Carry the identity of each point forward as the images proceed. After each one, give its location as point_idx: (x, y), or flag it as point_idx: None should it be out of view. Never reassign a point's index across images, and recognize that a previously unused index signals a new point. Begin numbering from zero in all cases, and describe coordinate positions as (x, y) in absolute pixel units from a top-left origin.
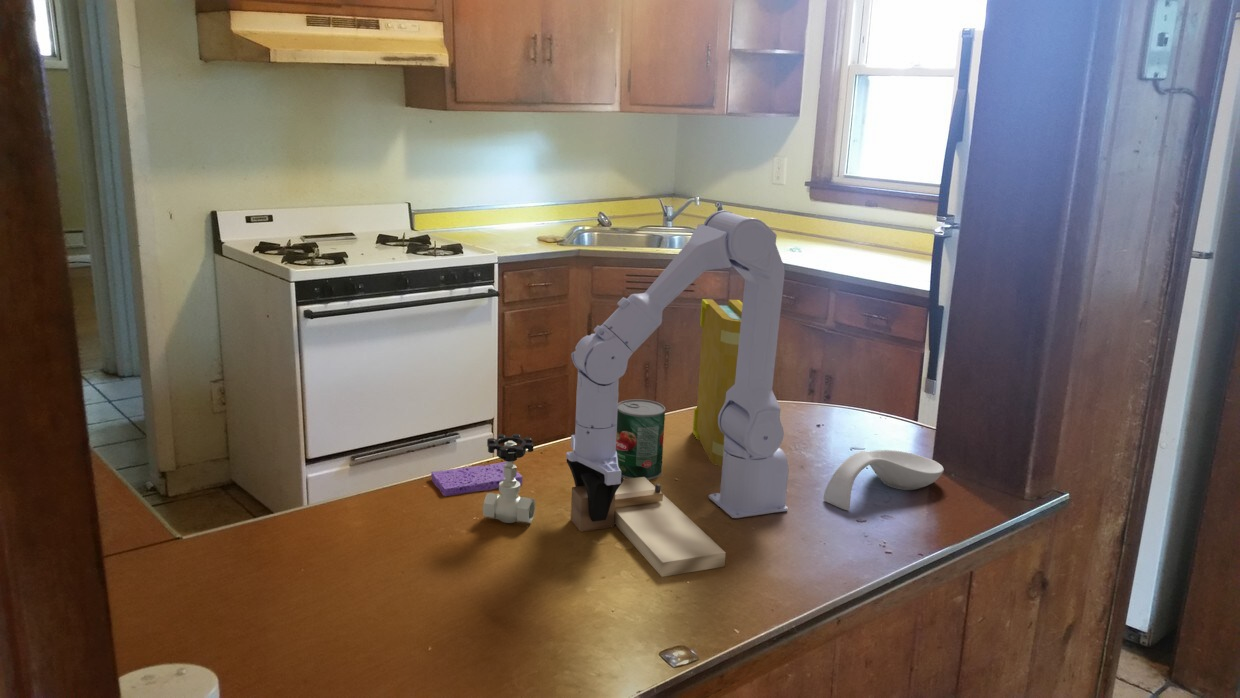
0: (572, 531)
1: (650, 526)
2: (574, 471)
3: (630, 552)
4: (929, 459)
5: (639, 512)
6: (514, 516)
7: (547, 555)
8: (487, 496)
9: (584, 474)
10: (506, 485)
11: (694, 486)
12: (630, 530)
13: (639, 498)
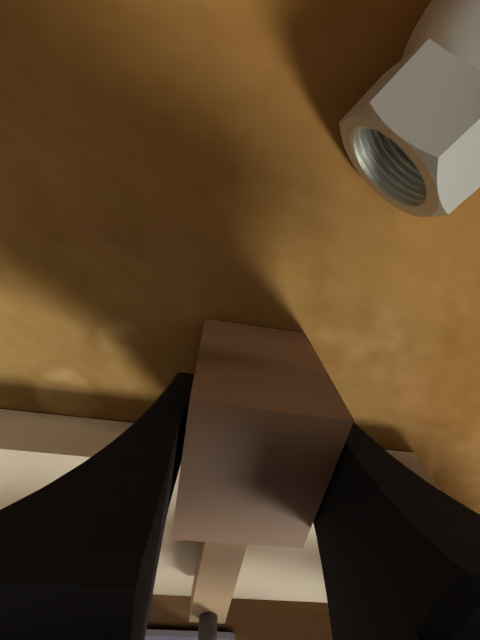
0: (221, 295)
1: None
2: (406, 526)
3: (8, 386)
4: None
5: None
6: (405, 51)
7: (54, 86)
8: None
9: (106, 613)
10: None
11: (300, 630)
12: (65, 445)
13: (199, 563)
